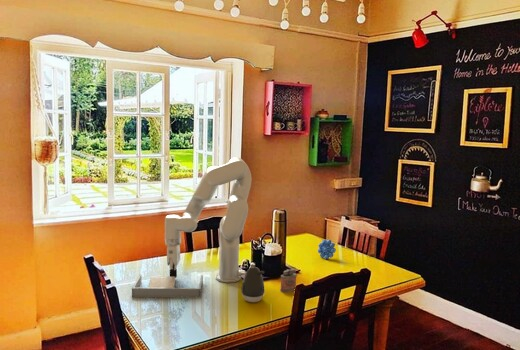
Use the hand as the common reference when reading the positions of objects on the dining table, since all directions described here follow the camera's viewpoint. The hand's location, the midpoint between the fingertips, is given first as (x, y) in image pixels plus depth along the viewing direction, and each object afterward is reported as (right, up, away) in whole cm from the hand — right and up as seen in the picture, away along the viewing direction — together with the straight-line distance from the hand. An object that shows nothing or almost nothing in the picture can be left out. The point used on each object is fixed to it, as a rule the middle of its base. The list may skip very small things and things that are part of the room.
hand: (173, 277), depth 211 cm
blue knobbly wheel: (+80, +1, +39) cm, 89 cm away
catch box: (0, -3, -12) cm, 12 cm away
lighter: (+55, -5, -8) cm, 56 cm away
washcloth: (-3, -3, -10) cm, 11 cm away
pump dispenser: (+39, -6, -19) cm, 44 cm away
